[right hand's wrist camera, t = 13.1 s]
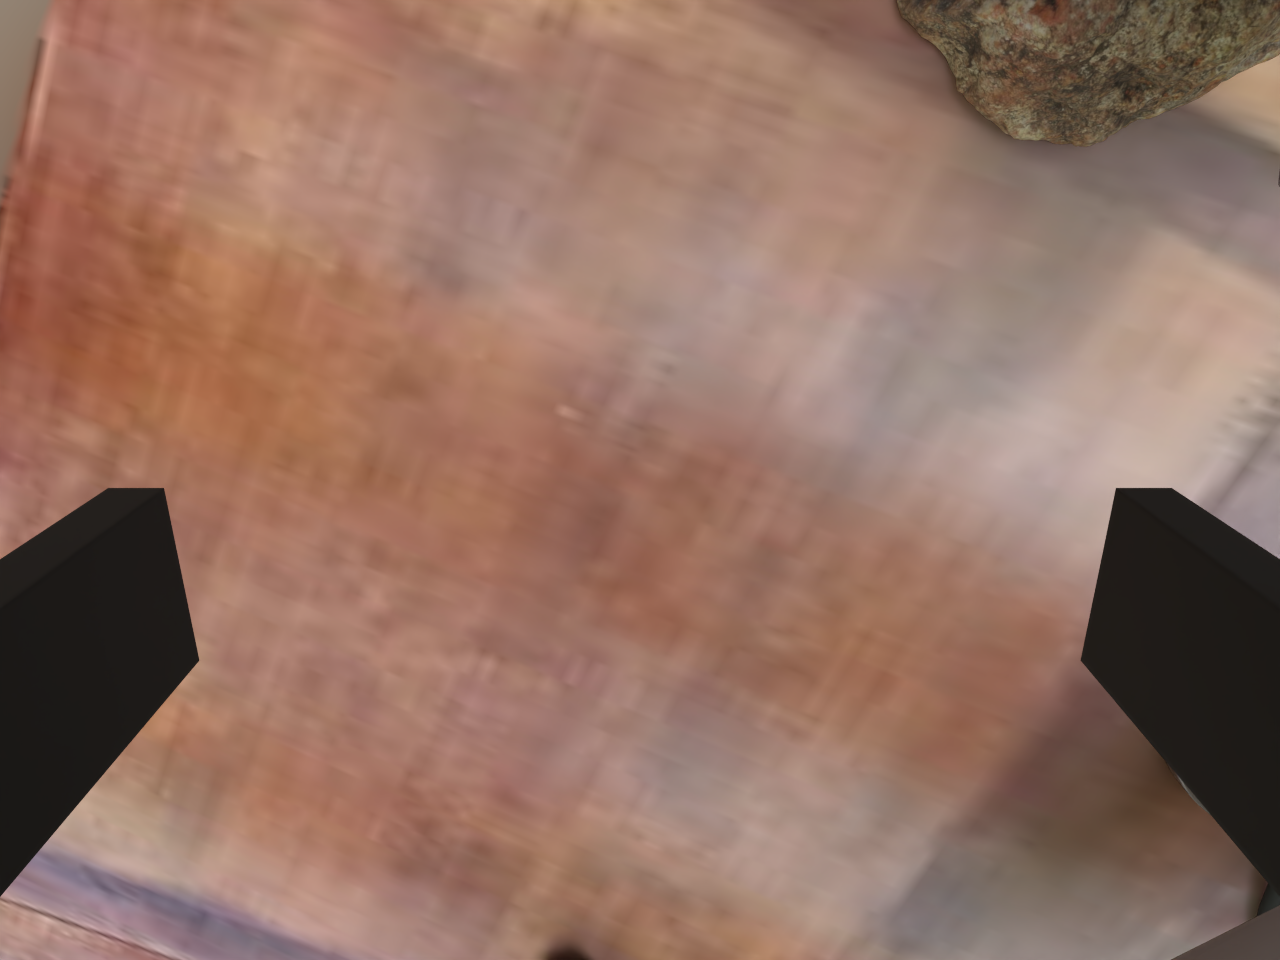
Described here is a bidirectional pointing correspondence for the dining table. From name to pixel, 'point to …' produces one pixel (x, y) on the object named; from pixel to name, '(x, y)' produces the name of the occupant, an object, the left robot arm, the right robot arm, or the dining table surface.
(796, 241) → the dining table surface
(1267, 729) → the right robot arm
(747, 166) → the dining table surface
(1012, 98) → the rock
